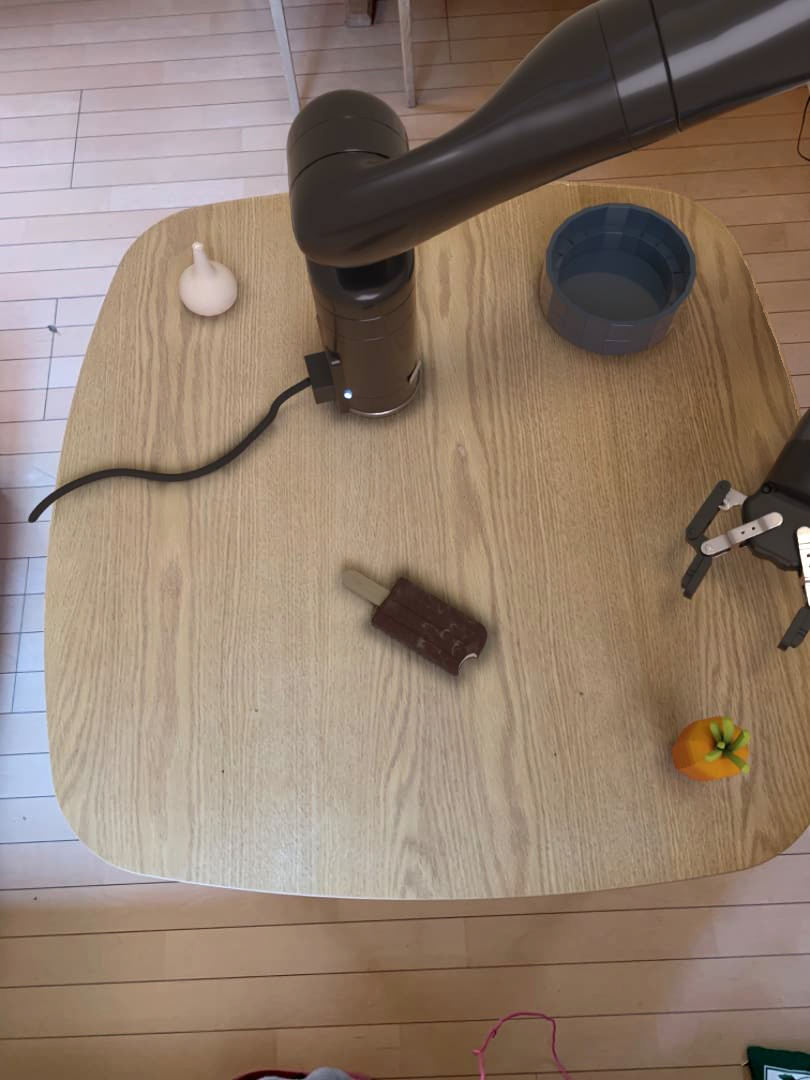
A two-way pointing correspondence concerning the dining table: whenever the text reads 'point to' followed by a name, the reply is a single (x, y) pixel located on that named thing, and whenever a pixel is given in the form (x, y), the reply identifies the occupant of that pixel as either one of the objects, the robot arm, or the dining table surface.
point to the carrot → (711, 749)
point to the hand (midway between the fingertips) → (733, 622)
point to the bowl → (616, 278)
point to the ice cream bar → (421, 621)
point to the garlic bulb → (207, 285)
